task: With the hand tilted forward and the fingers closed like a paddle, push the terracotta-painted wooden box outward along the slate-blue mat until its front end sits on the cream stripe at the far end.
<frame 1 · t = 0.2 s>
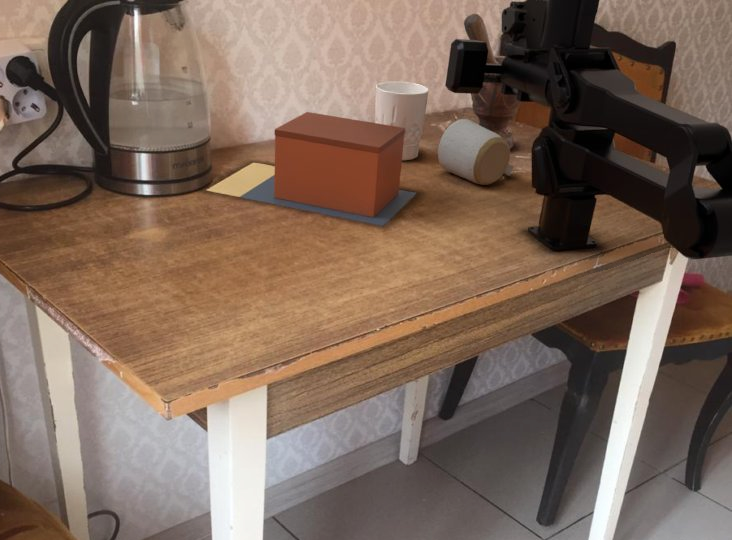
hand: (486, 57, 119), 16 cm above the table, tool horizontal, fingers open, 9 cm apart
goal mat: (313, 191, 117), on the table
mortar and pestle: (483, 148, 140), on the table
white cup: (396, 155, 134), on the table
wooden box: (337, 196, 116), on the table, touching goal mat
ceramic mug: (476, 178, 126), on the table
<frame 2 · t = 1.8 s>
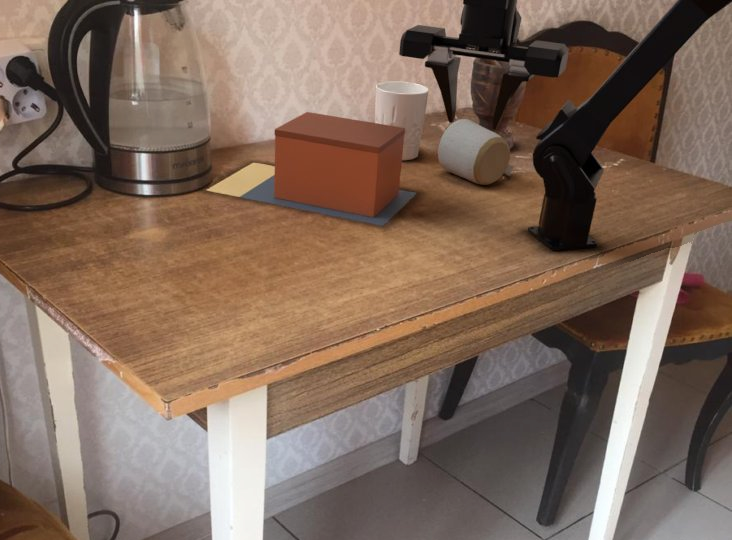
hand: (472, 125, 105), 12 cm above the table, tool pointing down, fingers open, 5 cm apart
nothing on the table moved.
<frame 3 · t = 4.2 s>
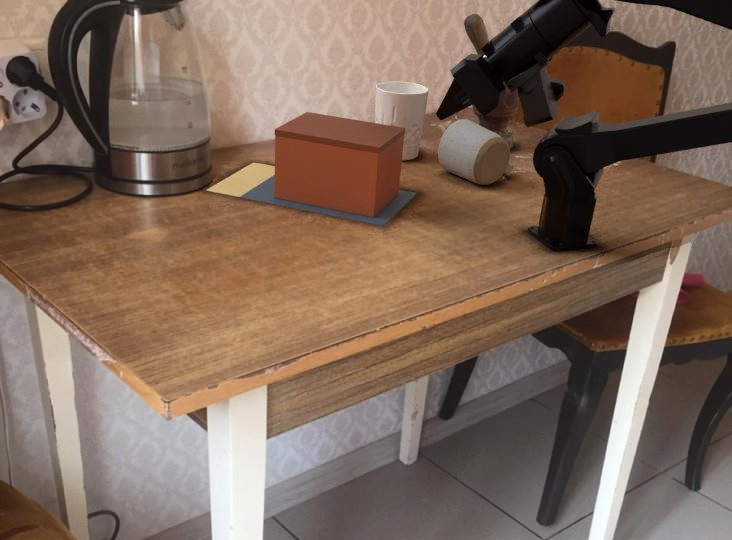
hand: (438, 116, 106), 12 cm above the table, tool tilted 45°, fingers closed
nothing on the table moved.
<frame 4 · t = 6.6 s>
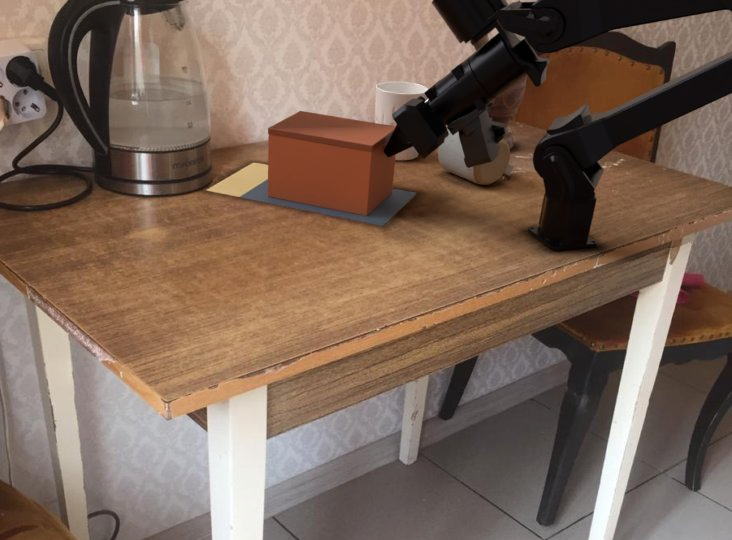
hand: (386, 153, 110), 7 cm above the table, tool tilted 45°, fingers closed, pressing on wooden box
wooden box: (330, 194, 116), on the table, touching gripper
everything else where it was.
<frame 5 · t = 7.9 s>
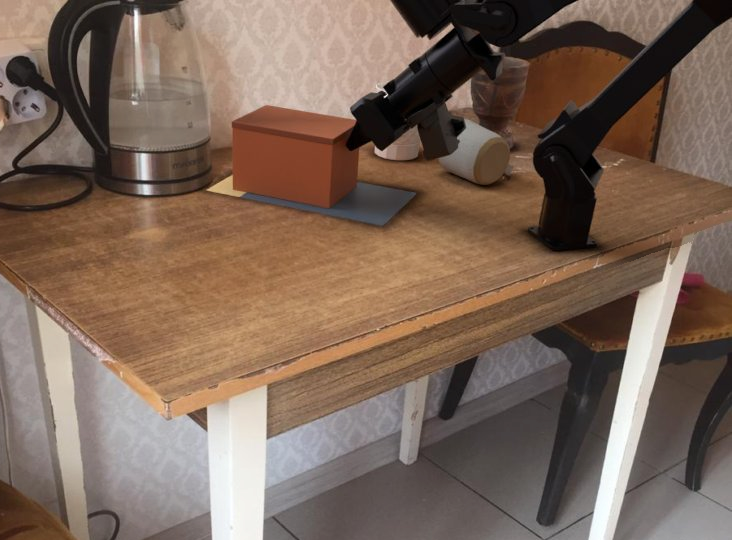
hand: (348, 147, 112), 7 cm above the table, tool tilted 45°, fingers closed, pressing on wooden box
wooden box: (295, 188, 117), on the table, touching gripper
everything else where it was.
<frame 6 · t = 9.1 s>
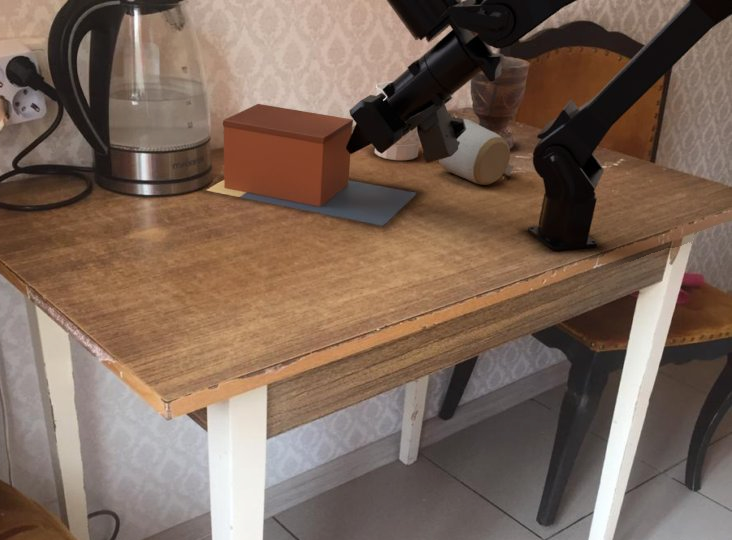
hand: (348, 150, 112), 6 cm above the table, tool tilted 45°, fingers closed
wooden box: (287, 186, 118), on the table, touching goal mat
everything else where it was.
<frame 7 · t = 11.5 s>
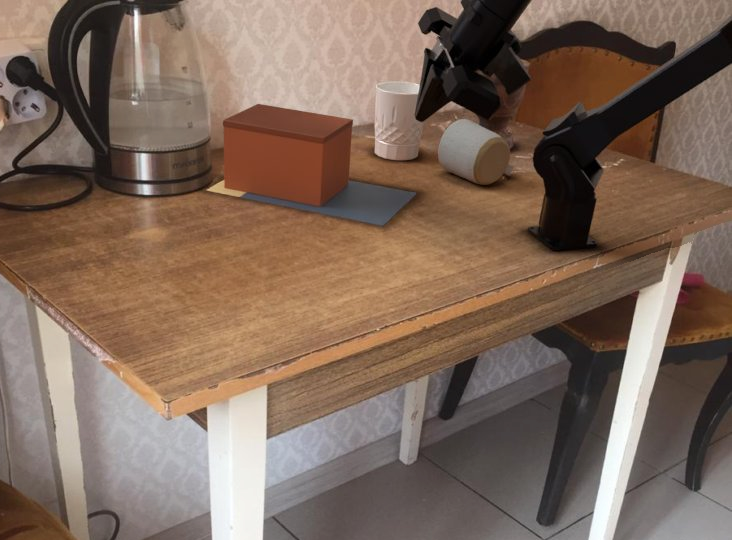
hand: (418, 119, 107), 12 cm above the table, tool tilted 30°, fingers closed
nothing on the table moved.
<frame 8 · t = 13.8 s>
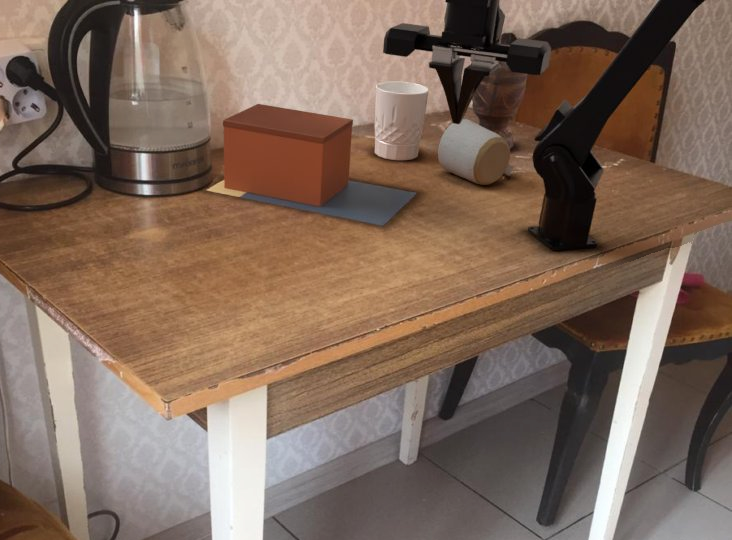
hand: (456, 123, 105), 12 cm above the table, tool pointing down, fingers closed
nothing on the table moved.
at the end: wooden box 0.4 cm from the target spot, on the table; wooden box tilted 0°; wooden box moved 7.3 cm from its start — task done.
